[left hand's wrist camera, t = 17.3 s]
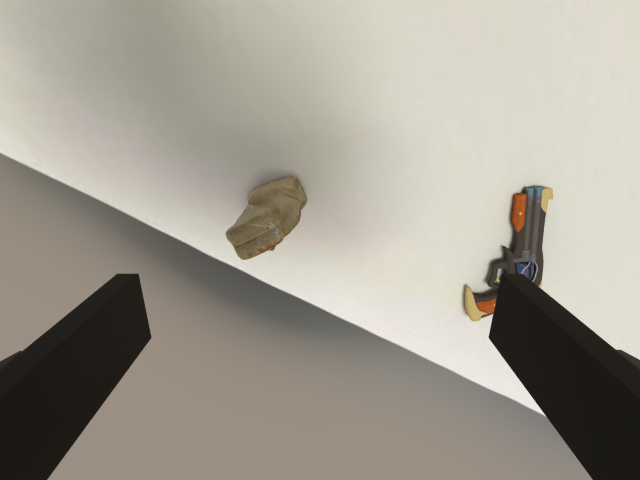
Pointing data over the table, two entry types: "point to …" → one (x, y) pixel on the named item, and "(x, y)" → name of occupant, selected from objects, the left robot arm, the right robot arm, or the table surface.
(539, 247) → the toy gun
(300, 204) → the sculpture
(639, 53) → the table surface
